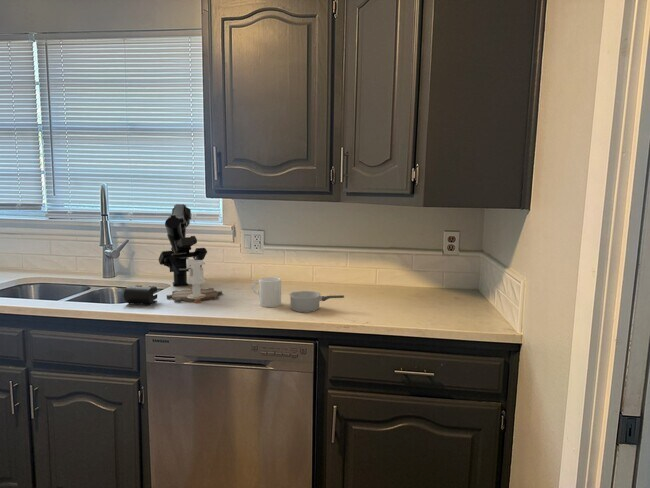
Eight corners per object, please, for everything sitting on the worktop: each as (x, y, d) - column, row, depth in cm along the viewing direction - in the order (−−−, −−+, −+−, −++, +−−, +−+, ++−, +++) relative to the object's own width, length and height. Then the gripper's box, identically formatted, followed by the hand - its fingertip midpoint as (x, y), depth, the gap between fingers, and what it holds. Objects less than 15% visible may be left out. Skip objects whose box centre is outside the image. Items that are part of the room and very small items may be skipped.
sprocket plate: (165, 292, 184) (165, 287, 183) (218, 288, 192) (218, 284, 191) (167, 305, 164) (167, 300, 163) (226, 300, 172) (226, 295, 172)
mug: (256, 300, 173) (255, 275, 172) (284, 303, 169) (284, 277, 168) (246, 305, 165) (246, 279, 164) (275, 308, 162) (275, 282, 160)
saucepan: (342, 315, 154) (343, 299, 154) (286, 313, 156) (286, 297, 155) (344, 306, 166) (344, 292, 165) (292, 304, 167) (292, 290, 167)
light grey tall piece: (185, 295, 173) (184, 257, 172) (202, 293, 177) (202, 256, 176) (190, 298, 168) (189, 260, 166) (208, 296, 171) (207, 258, 170)
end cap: (123, 305, 163) (122, 287, 162) (134, 301, 170) (133, 283, 169) (148, 307, 162) (148, 289, 161) (158, 302, 168) (158, 285, 168)
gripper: (160, 230, 170) (173, 262, 164) (204, 228, 183) (218, 257, 176) (153, 248, 177) (165, 279, 171) (196, 245, 190) (209, 274, 183)
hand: (190, 272), depth 175 cm, fingers open, 9 cm apart
